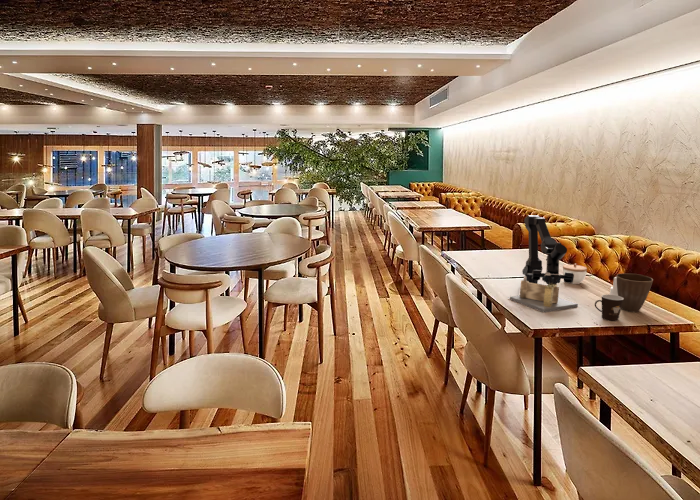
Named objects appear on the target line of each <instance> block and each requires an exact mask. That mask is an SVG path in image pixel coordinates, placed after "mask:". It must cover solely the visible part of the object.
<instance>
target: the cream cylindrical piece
mask: <svg viewBox="0 0 700 500" xmlns="http://www.w3.org/2000/svg"><path fill="white" fill-rule="evenodd" d="M612 282H613V284H612V286H610V291H609V295H616V296H618V291H617V276H615V277H613V281H612Z"/></svg>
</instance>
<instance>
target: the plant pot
mask: <svg viewBox="0 0 700 500" xmlns="http://www.w3.org/2000/svg"><path fill="white" fill-rule="evenodd" d="M616 277H617V291H618V296H620V297H622V298H624V299H623V303H622V307H621V310H622V311H626V312H631V313H638V312H640V311H641V308H642V307H643V305H644V304H645V302H646V300H647V298H648V296H649V293H650V291H651V287H652V285H653V282H654V279H653V278H652V277H650V276H647V275H643V274H637V273H617V274H616Z"/></svg>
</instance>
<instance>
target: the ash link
mask: <svg viewBox="0 0 700 500" xmlns="http://www.w3.org/2000/svg"><path fill="white" fill-rule="evenodd" d="M523 280H524V279H523ZM523 280H520V290H519V295H520V297H521V298H528V299H534V300H539V301H544V295H545V286H547V285H548V284H542V283H538V284H536V283H530V282H529V281H523ZM559 292H560V286H559V287H558V286H556V287H555V288H554V290H553V300H552V303H556V304H557V303H558V297H559V295H560V294H559Z"/></svg>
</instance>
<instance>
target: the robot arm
mask: <svg viewBox="0 0 700 500" xmlns="http://www.w3.org/2000/svg"><path fill="white" fill-rule="evenodd" d="M523 221H524V222H523V223H524V226H525V229H526V230H527V231H528V258H527V260H526V261H525V265H524V267H523V269H522V271H521V273H522V275H524V276H526V277H527V280H526V281H529V282H530V283H536V284H539V283H538V282H539V281H540V280H542V281H543V282H544V283H546V285H548V284H550V283H553V284H557V285H558V284H560V283H561V280H563V282H564V283H566V284H572V282H573V279H574V274H573V273H569V272H565V275H563V274H560V260H562V259H563V257H564V256H565V255H566V254H567V252H568V248H567V246H565V245H563V244H562V242H557V241H556V240H555V239H554V238H552V236H551V233H550V231H549V229H548V226H547V224H546V222H547V221H546V218H545V217H541V216H540V215H526V217H525V218H524V219H523ZM538 237H539V238H540V240H541V244H540V251H541V253H542V254H545V255H546V259H545V260H546V271H545V273H544V272H543V269H544V268H543V266H542V265H543V261H542V260H541V259H540V258H539V238H538Z"/></svg>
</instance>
